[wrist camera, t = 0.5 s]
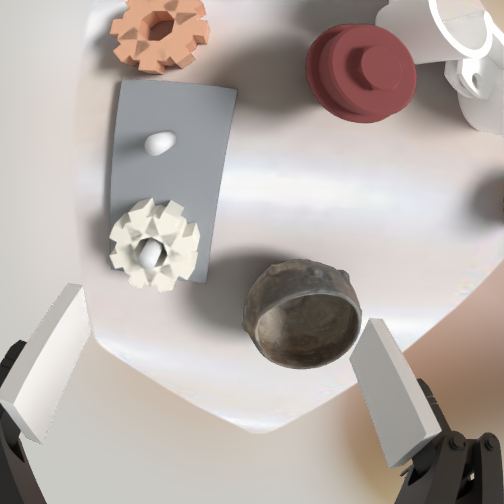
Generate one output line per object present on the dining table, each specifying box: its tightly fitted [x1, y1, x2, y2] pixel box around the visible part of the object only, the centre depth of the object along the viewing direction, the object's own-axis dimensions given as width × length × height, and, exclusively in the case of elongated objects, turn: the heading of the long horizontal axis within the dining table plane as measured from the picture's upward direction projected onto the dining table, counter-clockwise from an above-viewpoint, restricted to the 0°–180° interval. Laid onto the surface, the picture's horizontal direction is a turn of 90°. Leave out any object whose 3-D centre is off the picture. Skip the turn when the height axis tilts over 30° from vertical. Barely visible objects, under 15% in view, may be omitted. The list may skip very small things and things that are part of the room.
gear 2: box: [109, 198, 200, 292], centre depth 34 cm, size 10×10×4 cm
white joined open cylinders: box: [375, 0, 504, 136], centre depth 23 cm, size 25×10×12 cm, turn 67°
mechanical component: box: [306, 24, 417, 123], centre depth 24 cm, size 12×10×10 cm
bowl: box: [243, 259, 362, 369], centre depth 38 cm, size 14×15×10 cm
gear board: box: [110, 79, 238, 284], centre depth 31 cm, size 24×13×8 cm, turn 169°
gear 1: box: [110, 0, 210, 74], centre depth 24 cm, size 10×10×4 cm
